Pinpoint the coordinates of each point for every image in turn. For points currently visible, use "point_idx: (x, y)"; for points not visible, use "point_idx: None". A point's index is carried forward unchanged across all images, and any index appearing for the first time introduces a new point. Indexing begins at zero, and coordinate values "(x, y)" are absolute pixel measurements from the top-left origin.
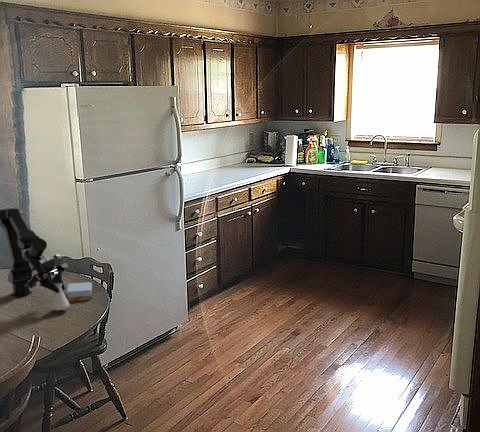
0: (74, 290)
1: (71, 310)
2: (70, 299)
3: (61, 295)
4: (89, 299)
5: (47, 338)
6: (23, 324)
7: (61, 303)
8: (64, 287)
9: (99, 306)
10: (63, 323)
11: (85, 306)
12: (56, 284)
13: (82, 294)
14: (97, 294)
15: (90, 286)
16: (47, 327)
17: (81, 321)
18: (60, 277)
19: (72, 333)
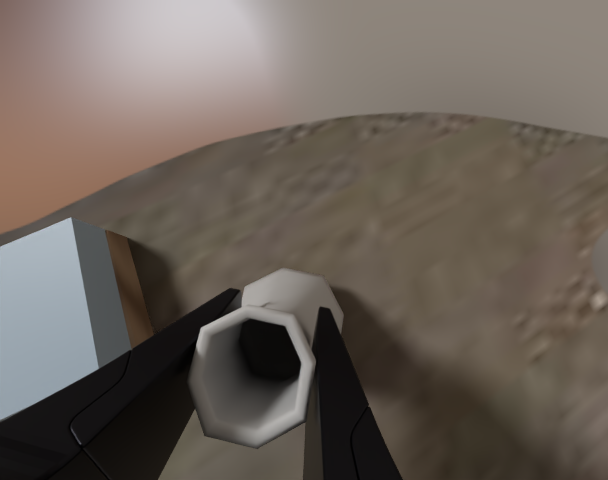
0: (74, 326)
1: (272, 269)
2: (145, 338)
3: (300, 300)
4: (127, 245)
5: (591, 219)
6: (522, 453)
7: (322, 294)
8: (225, 293)
9: (208, 166)
10: (424, 230)
11: (214, 226)
12: (224, 415)
13: (105, 272)
14: None
15: (4, 250)
16: (494, 283)
17: (379, 166)
18: (46, 424)
19: (498, 146)
